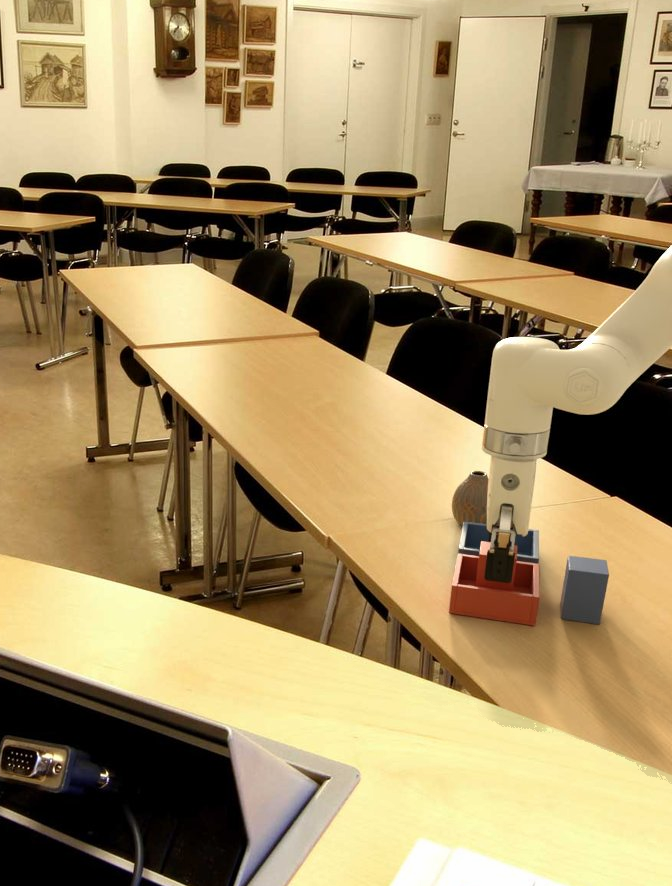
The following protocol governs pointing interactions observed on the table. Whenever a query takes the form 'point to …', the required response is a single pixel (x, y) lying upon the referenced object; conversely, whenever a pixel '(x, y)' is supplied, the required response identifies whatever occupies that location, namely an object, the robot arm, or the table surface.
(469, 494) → the vase
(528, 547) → the blue bin
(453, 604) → the red bin
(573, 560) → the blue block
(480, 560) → the red block
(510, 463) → the robot arm
